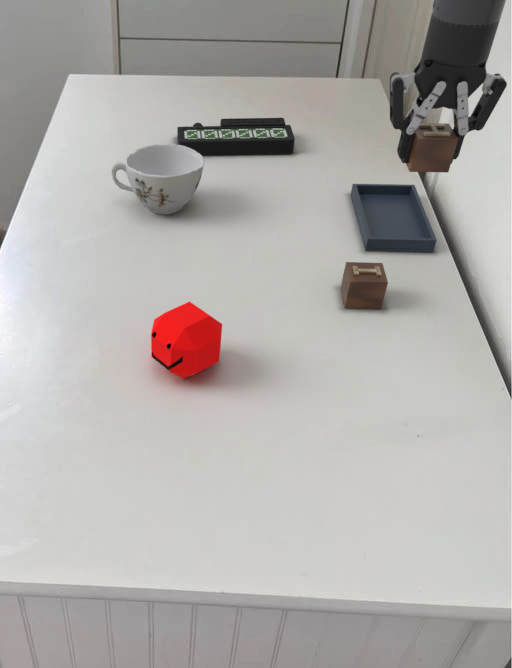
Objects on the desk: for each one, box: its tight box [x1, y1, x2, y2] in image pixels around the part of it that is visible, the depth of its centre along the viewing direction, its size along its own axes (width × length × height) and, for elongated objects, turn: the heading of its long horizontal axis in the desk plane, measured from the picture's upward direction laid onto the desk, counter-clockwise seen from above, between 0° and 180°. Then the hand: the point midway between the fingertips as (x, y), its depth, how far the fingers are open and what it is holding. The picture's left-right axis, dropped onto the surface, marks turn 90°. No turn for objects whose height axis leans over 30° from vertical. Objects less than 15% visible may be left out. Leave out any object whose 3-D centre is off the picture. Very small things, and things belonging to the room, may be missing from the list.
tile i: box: [340, 261, 389, 310], centre depth 99 cm, size 5×5×4 cm
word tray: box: [350, 183, 437, 253], centre depth 114 cm, size 10×18×2 cm, turn 176°
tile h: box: [405, 122, 458, 173], centre depth 93 cm, size 5×5×4 cm
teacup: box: [111, 143, 205, 216], centre depth 117 cm, size 15×12×8 cm
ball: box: [150, 301, 223, 380], centre depth 88 cm, size 8×8×8 cm
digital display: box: [176, 117, 296, 157], centre depth 135 cm, size 21×3×10 cm
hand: (425, 160), depth 94 cm, fingers closed on tile h, 5 cm apart
